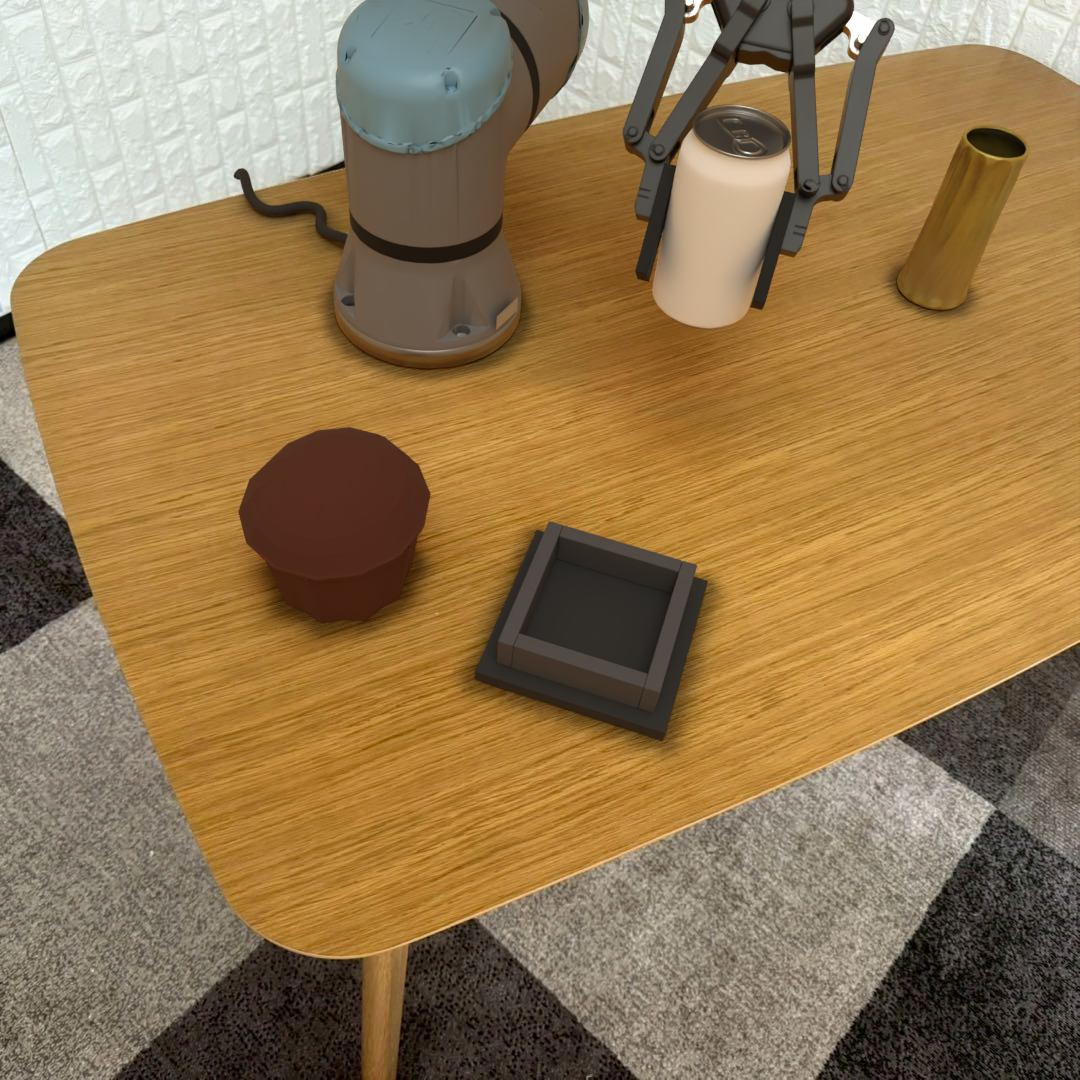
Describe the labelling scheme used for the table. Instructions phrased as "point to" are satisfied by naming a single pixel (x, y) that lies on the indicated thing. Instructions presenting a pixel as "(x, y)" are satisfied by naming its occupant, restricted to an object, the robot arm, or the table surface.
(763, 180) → the can
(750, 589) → the table surface
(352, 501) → the muffin
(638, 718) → the socket pad
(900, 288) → the vase
